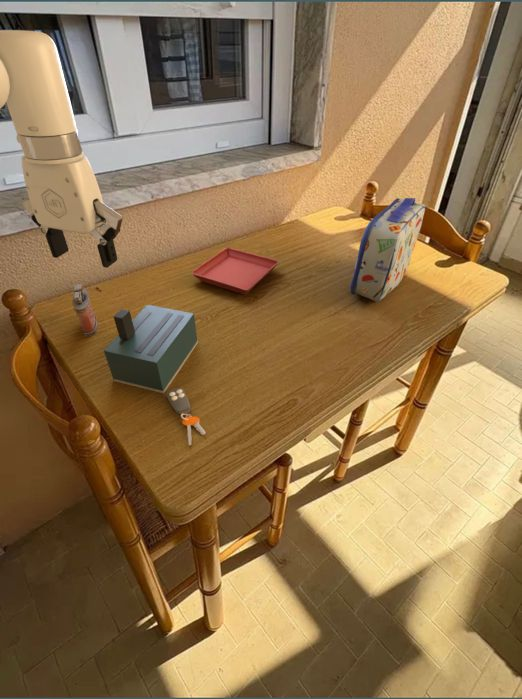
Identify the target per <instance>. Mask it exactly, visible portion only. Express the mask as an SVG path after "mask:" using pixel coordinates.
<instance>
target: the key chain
mask: <svg viewBox="0 0 522 699" xmlns="http://www.w3.org/2000/svg"><path fill="white" fill-rule="evenodd" d="M165 395H166V399H167V400H168V403H169V404H170V405H171V407H172V409H173V411H174V412H175V413H176V414H177V415H179V416H180V418H181V419H182V420H181V424H182V425H183V426H186V427H187V441H188V446H189V447H190V446H192V438H193V437H192V427H193V428H195V429H196V431H197V432H198V433H200V434H199V435H201V436H205V435H206V434H207V431H205V429H204V428H203V427H202V425H201V424H200V422H201V419H200V418H199V417H198V416H192V415H191V414H190V413H191V409H192V407H191V406H192V405H191V403H190V401H189V398H188V395H187V394H186V392H185V389H184V388H183V387H176V388H173V389H172V388H171V389H170V390H169V391H167V392H165ZM184 416H185V417H184Z"/></svg>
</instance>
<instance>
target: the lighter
mask: <svg viewBox="0 0 522 699" xmlns="http://www.w3.org/2000/svg"><path fill="white" fill-rule="evenodd" d="M90 300H91V299H90V294H89V292H88V290H87V289H83V286H82V284H81V283H77V284H75V286H74V288H73V296H72V302H71V303H72V307H73V310H74V312H75V313H76V317H77V318H78V320H79V324H80V326H81V327H80V328H81V332H82V334H83V336H84V337H92V336H94V335H96V333H97V330H98V324H99V323H98V319H97V315H96V314H95V313H94V310H93V306H92V304H91V301H90Z"/></svg>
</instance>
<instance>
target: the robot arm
mask: <svg viewBox="0 0 522 699" xmlns="http://www.w3.org/2000/svg"><path fill="white" fill-rule="evenodd" d="M65 79H66V78H65V76H64V71H63V69H62V63H61V60H60V56H59V51H58V48H57V45H56V43H55V42H54V39H52V38H51V37H50V36H49V35H48V34H47V33H44V32H42V31H36V30H21V29H19V30H18V29H2V30H1V29H0V110H1V109H2V108H3V107H4V106H5V104H6V106H7V110H8V112H9V115H10V118H11V121H12V124H13V126H14V130H15V132H16V141H17V143H19V144H20V148H21V150H22V153H23V155H22V156H21V158H20V159H21V167H22V168H21V169H22V174H23V179H24V183H25V188H26V192H27V195H28V199H27V200H25V201H24V202H22V207H24V209H25V211H26V212H27V213H28V215H29V216H31V220H32V221H33V223H35V224H36V225H37V226H38V228H39V232H40V233H41V234H42V235H44V236H45V239H46V242H47V244H48V247H49V249H50V252H51V255H52V257H53V258H55V259H58V258H59V257H62V256H63V255H64V254H66V253H68V252H69V245H68V243H67V240H66V236H65V233H64V232H70V233H75V234H76V233H77V234H81V235H83V234H85V235H86V234H91V235H92V236H93V237H94V239H96V240H97V241H98V244H97V251H98V254H99V259H100V262H101V265H102V267H103V268H106V269H107V268H109V267H110V266H112V265H113V264H115V263H116V262H117V261H118V255H117V251H116V250H117V249H116V246H115V243H114V242H115V241H114V240H115V239H116V238H117V236H118V234H119V233H120V232H121V227H122V223H123V216H122V215H121V213H118V212H116V211H115V210H114V209H112V208H111V207H109V206H108V205H106V204H105V203H104V200H103V196H102V193H101V190H100V186H99V184H98V181H97V177H96V175H95V173H94V171H93V170H94V169H93V167H92V166H91V163H90V161H89V159H88V156H86V155H84V154H85V153H84V151H83V147H82V143H81V138H80V135H79V131H78V127H77V123H76V118H75V115H74V111H73V107H72V103H71V99H70V95H69V91H68V87H67V83H66V80H65ZM107 221H108V223H107ZM100 230H101V231H102V232H103V233H102V232H101V231H100Z"/></svg>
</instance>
